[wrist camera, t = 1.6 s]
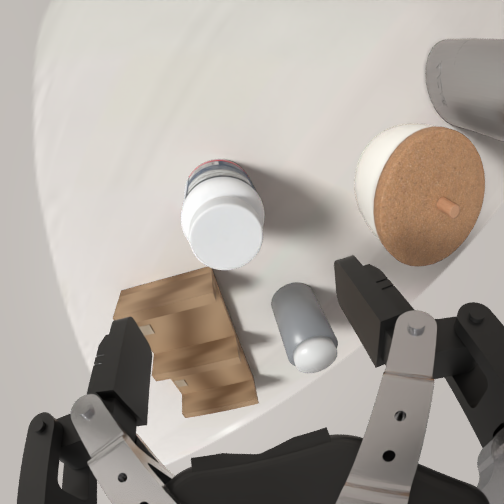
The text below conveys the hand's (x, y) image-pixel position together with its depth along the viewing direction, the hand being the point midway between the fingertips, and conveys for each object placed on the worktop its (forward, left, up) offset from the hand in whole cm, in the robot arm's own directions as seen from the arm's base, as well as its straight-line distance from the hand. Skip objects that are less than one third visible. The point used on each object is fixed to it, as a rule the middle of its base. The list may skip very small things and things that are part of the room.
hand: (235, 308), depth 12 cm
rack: (+7, +15, -15) cm, 22 cm away
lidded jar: (-15, +2, -15) cm, 21 cm away
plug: (-4, +13, -15) cm, 20 cm away
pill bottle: (0, 0, -15) cm, 15 cm away
